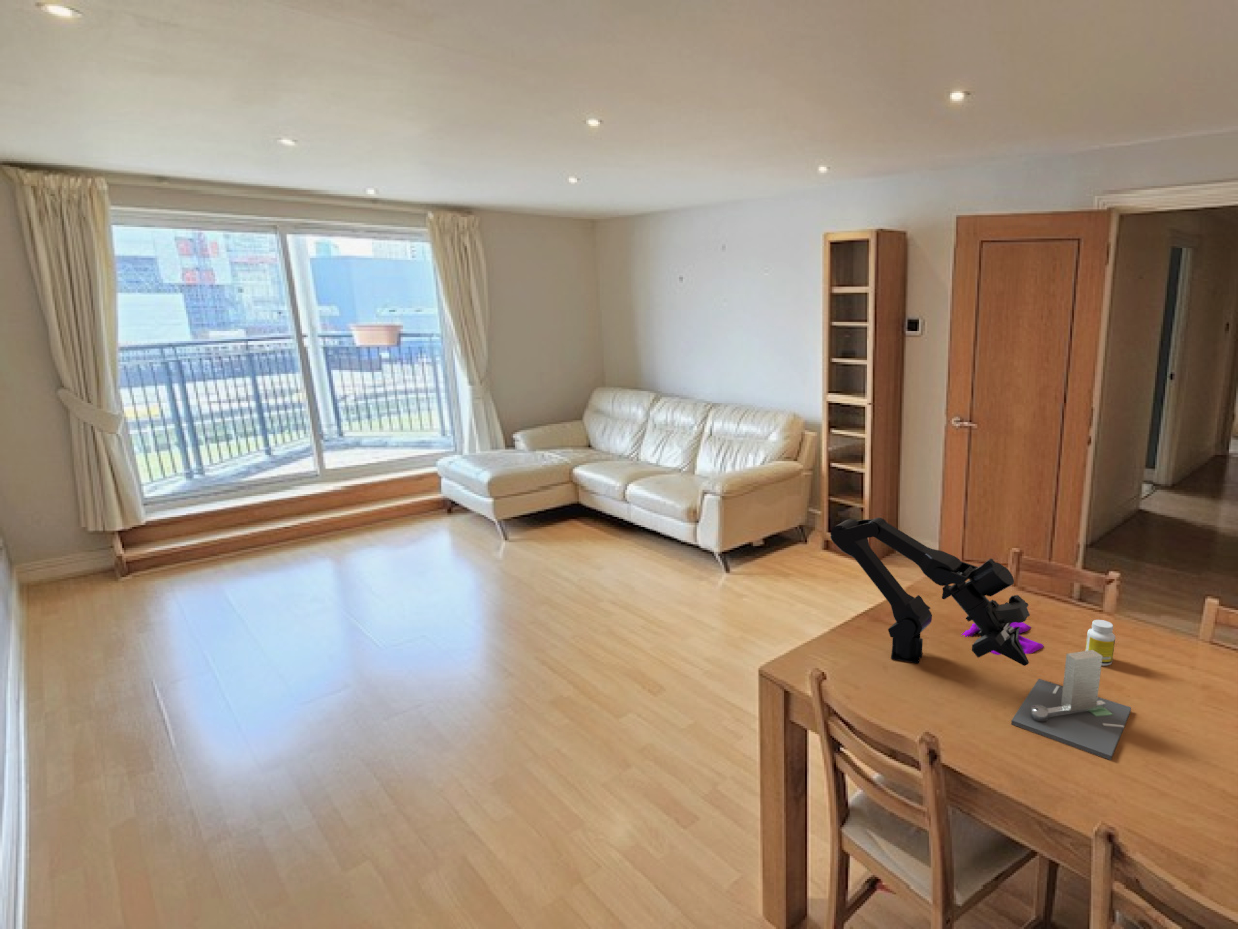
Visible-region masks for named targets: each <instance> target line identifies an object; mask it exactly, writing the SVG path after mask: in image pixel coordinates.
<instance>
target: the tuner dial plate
mask: <svg viewBox="0 0 1238 929" xmlns="http://www.w3.org/2000/svg"><path fill="white" fill-rule="evenodd" d="M1062 692H1063V685H1060V684H1057V683H1054V682H1052V681H1047V680H1045V679H1041V678H1038V679H1037V680H1036V682H1035V683H1034V685H1033V686H1032V688H1031V690H1030V692H1028V694H1027V696H1026V697H1025V699H1024V701H1023V702H1022V703H1021V705H1020V706H1019V708H1018V709H1017V711H1016V713H1015V714H1014V715H1013V717H1012V719H1011V723H1010V724H1011V725H1012V726H1015V727H1017V728H1021V729H1023V730H1026V731H1029V732H1031V733H1033V734H1036V735H1040V736H1042V737H1045V738H1048V739H1050V740H1053V741H1055V742H1059V743H1061V744H1064V745H1066V746H1070V747H1073V748H1076V749H1078V750H1081V749H1082V750H1081V751H1083V750H1084V752H1087V753H1090V754H1092V755H1094V754H1095V756H1098V757H1100V756H1101V757H1100V758H1103V759H1105V758H1106V759H1105V760H1109V761H1112V758H1113V756H1114V754H1115V751H1116V749H1115V748H1117V746H1118V743H1119V741H1120V738H1121V736H1122V734H1123V732H1124V728H1125V726H1126V724H1127V721H1128V719H1129V716H1130V715H1131V714H1130V713H1131V712H1132V707H1131V706H1128V705H1125V704H1122V703H1118V702H1117V701H1116V702H1115V701H1112V700H1109V699H1106V698H1102V697H1099V696H1098V698H1097V701H1098V700H1100V701H1101V700H1102V701H1103V702H1105V703H1106V704H1105V708H1103V709H1097V710H1091V711H1084V712H1078V713H1072V714H1065V715H1059V716H1053V717H1048V720H1047V721H1046V722H1039V721H1036V720H1034V719H1032V718H1031V707H1032V706H1033V705H1041V706H1044V707H1046V708H1053V707H1060V706H1062V705H1061V702H1062Z"/></svg>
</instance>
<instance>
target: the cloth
mask: <svg viewBox="0 0 1238 929" xmlns="http://www.w3.org/2000/svg"><path fill="white" fill-rule="evenodd" d="M1009 626H1010V627H1011V626H1012V627H1013V628H1016V627H1020V629H1019V633H1018V639H1019V642H1020V644H1021V646H1022V648H1023V651H1024V653H1025V655H1029V654H1033V653H1034V652H1037V651H1039V650H1042V649H1043V648H1044V644H1043V643H1040V642H1037V641H1034V640H1031V639H1030V638H1027V637H1024V636H1022V635H1021V634H1023V633H1025V632H1028V631H1029V630H1030V629H1031V628H1032V627H1031V625H1029V624H1027V623H1025V622H1021V623H1017V622H1013V623H1011V624H1010V625H1009ZM964 631H965V632H964ZM964 631H963V632H964V633H963V632H962V633H963V634H962V633H961V634H962V635H965V637H964V638H970V637H969V636H971V637H973V636H974V635H975V634H977V633H979V632H980V631H981V630H980V629H979V628H978V627H977V626H976V624H975V623H974V622H973V623H972V626H970V628H969V629H967V630H964ZM962 635H961V636H962ZM967 636H968V637H967ZM990 653H991V654H993V655H995V656H1000V655H1002V654H1000V653H998V652H996V651H994V650H993V651H991V652H990Z"/></svg>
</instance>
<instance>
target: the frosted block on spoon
mask: <svg viewBox="0 0 1238 929" xmlns="http://www.w3.org/2000/svg"><path fill="white" fill-rule="evenodd" d="M1101 664H1102V655H1100V654H1099V653H1097V652H1095V651H1094V650H1089V651H1085V650H1083V651H1078V652H1076V651H1075V652H1069V653H1066V656H1065V665H1064V666H1065V667H1064V676H1063V682H1062V683H1063V684H1062V686H1063V692H1062V702H1061V705H1062V706H1060V707H1053V708H1046V707H1044V706H1041V705H1033V706H1032V707H1031V718H1032V719H1034V720H1036V721H1039V722H1046V721H1047V720H1048V717H1053V716H1059V715H1065V714H1072V713H1078V712H1084V711H1091V710H1097V709H1103V708H1105V704H1106V703H1105V702H1103V701H1102V700H1101V701H1100V700H1098V701H1097V698H1098V697H1099V696H1098V695H1099V687H1100V681H1101V672H1102V665H1101Z"/></svg>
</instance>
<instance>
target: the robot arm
mask: <svg viewBox="0 0 1238 929" xmlns="http://www.w3.org/2000/svg"><path fill="white" fill-rule="evenodd" d="M868 538H874V539H876V540H879V541H880V542H881V543H883V544H884V545H887V547H889V548H891V549H893V550H894V551H896V553H899V554H900V555H902V556H903V557H905V558H906V559H908V560H910V561H912V562H913V563H914V564H916V565H917V566H918V567H919V568H920V571H922V573H923V574H924V575H925V576H926V577H927V578H928V579H929V580H931V581H932V582H933V583H934V584H935V585H937V586H940V587H942V595H941V599H942V600H946V599H947V598H950V597H952V598H953V600H955V602H956V603H957V605H958V606H960V608H961V609H962V611H963V612H965V614H966V615H967V616H966V617H965V619H966V621H967V622H971V621H972V622H973V624H974V623H975V624H976V626H977V627H978V628H979V629H980V630H981V631H980V632H979V633H978V635H979V638H976V640H975V641H974V642H973V644H972V645H971V651H972V653H973V654H974V655H975V657H976V658H981V657H982V656H985V655H987V654H990V653H991V651H993V650H994V651H996V652H998V653H1000V654H1001V655H1003V656H1005V657H1007V658H1009V659H1010V660H1012V661H1013V662H1016V663H1018V664H1020V665H1022V666H1028V665H1029V664H1030V662H1029V659H1028V657H1027V654H1025V653H1024V651H1023V648H1022V646H1021V644H1020V642H1019V639H1018V635H1019V634H1018V633H1019V629H1020V627H1016V628H1013V627H1012V626H1011V627H1010V626H1009V625H1010V624H1011V623H1013V622H1017V623H1021V622H1023V623H1025V622H1026V621H1027V618H1028V617H1030V616H1031V614H1030V611H1029V610H1028V607H1029V603H1028V602H1026V601H1025V599H1023V598H1022V597H1021V596H1020V595H1018V594H1016V595H1011V596H1010V597H1009V598H1008V601H1007V602H1004V603H1002V604H1000V603H998V602H997V600H994V599H991V600H989V599H988V597H993V596H994V595H996V594H998V593H1000V592H1001V591H1004V590H1005V589H1007V588H1010V587H1011V586H1013V585H1014V583H1015V579H1014V577H1013V574H1012V573H1011V571H1010V570H1009V569H1008V568H1007V566H1004V565H1003V564H1001V563H999V562H995V560H994V559H993V558H989V559H988V560H986V561H984V562H983V563H982V564H981V565H979V566H976V565H973V564H971V563H969V562H968V563H967V562H965V561H962V560H960V559H959V558H958V557H957V556H955V555H953V554H950V553H948V552H945V551H943V550H939V549H935V548H932V547H929V546H926V545H925V544H923V543H921V542H920V541H918V540H916V539H915V538H913V537H912V536H910V535H908V534H907V533H906V532H905V533H904V532H903V531H902V530H900V529H898V528H897V527H895V526H893V525H892V524H890V523H889V522H887V520H885V519H884V518H882V517H874V518H868V519H865V518H864V519H859V520H856V519H850V518H849V519H846V520H844V521H842V522H841V523H839V524H837V525H835V526H833V527H832V528H831V530H830V539H831V542H832V543H834V545H835V546H836V547H837V548H839V550H840V551H841V552H843V553H845V554H847V555H848V556H850V557H852V558H853V559H854V560H855V561H856V563H858V564H859V566H860V567H861V569H862V570H863V571H864V573H865V574H866V575H867V576H868V578H869V579H870V580H871V581H872V583H873V584H874V585H875V586H876V588H877V589H878V591H880V593H881V594H882V595H883V597H884V598H885V600H886V601H887V602H888V603H889V605H890V607H891V612H892V616H893V619H894V620H895V622H893V624H892V625H891V626H889V628H888V629H887V631H888V634H889V636H890V638H892V642H891V643H892V644H891V646H892V647H891V655H890V659H892V660H894V661H902V662H906V663H915V664H920V661H921V660H920V659H921V658H923V640H924V639H923V638H922V637H921V633H922V632H923V631H924V630H926V628H927V627H928V626H929V625H931V623H932V620H933V614H932V612H931V611H930V610H931V607H930V606H929V605H927V604H926V602H925V600H924V599H923V598H922V596H920V595H919V594H918V595H916V596H912V595H910V594H909V593H907V591H906V590H905V589H904V588H903V587H902V586H901V584H900V583H899V581H897V579H896V578H895V577H894V575H893V574H892V573H891V572H890V570H889V569H888V568H887V566H886V565H885V564H884V563H883V561H882V560H881V559H880V557H879V556H878V555H877V554H876V553H875V551H874V550H873V549H872V547H871V546H870V543H869V539H868ZM951 584H952V585H951Z"/></svg>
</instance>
